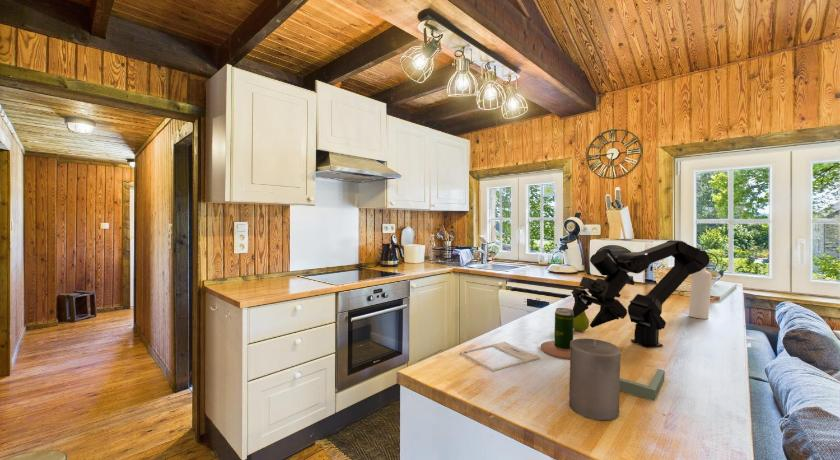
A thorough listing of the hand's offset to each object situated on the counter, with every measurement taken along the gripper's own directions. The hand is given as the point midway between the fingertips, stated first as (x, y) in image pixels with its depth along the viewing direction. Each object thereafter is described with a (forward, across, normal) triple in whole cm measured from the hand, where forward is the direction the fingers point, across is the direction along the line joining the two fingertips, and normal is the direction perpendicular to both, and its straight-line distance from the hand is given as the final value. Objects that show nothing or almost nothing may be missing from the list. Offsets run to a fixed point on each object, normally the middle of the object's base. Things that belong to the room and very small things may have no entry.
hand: (580, 322), depth 109 cm
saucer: (+10, 0, +2) cm, 11 cm away
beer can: (+10, 0, +2) cm, 10 cm away
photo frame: (+26, 0, -13) cm, 29 cm away
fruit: (-2, -17, +15) cm, 23 cm away
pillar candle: (+20, +30, -8) cm, 38 cm away
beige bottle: (-46, -23, +60) cm, 79 cm away
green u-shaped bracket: (+9, +20, +4) cm, 22 cm away
